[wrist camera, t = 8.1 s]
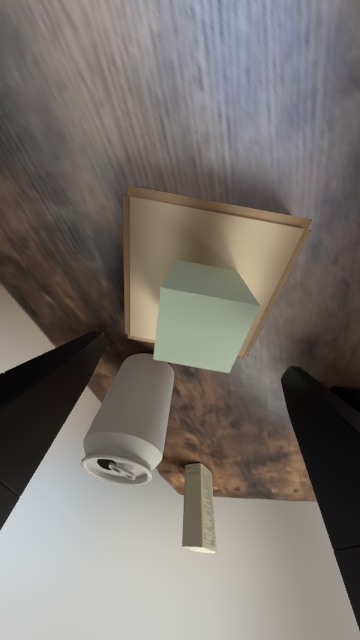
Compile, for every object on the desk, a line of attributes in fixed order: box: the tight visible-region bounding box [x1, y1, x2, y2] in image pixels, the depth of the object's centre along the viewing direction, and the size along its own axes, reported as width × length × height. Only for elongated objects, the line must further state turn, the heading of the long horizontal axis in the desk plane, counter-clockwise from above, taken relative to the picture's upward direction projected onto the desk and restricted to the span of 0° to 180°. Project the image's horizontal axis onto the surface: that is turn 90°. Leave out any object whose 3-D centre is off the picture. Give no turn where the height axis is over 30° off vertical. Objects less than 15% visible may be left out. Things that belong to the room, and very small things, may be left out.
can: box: [81, 353, 174, 486], centre depth 20 cm, size 8×8×12 cm
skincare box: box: [182, 463, 217, 553], centre depth 37 cm, size 6×4×12 cm
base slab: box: [122, 185, 312, 359], centre depth 16 cm, size 13×13×3 cm
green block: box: [153, 259, 260, 373], centre depth 12 cm, size 5×5×6 cm
